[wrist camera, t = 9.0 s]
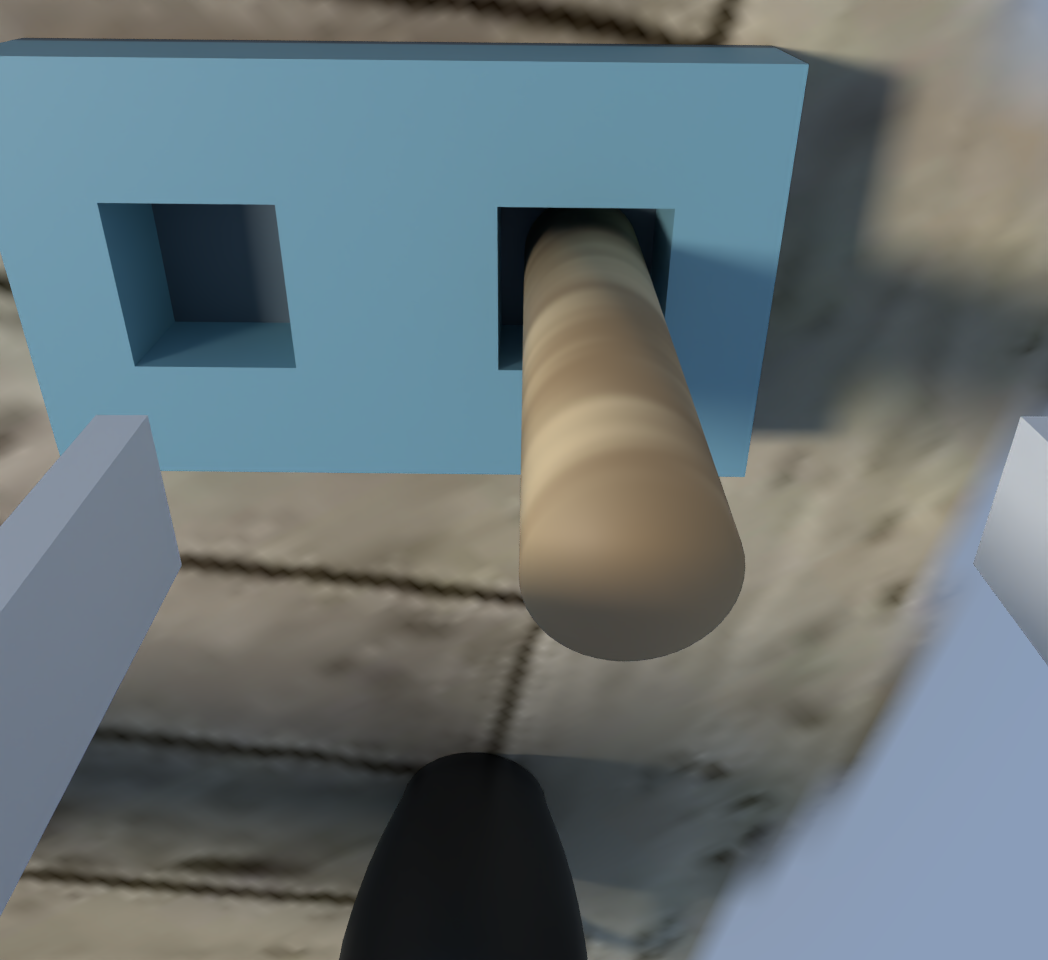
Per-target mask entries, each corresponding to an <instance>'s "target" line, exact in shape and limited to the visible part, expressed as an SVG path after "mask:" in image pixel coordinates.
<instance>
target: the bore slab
mask: <svg viewBox="0 0 1048 960" xmlns="http://www.w3.org/2000/svg"><path fill="white" fill-rule="evenodd" d="M808 68H809V64H807V63H805V62H803V61H801V60H799V59H797V58H795V57H793V56H791V55H789V54H787V53H785V52H783V51H781V50H779V49H777V48H775V47H773V46H764V45H666V44H567V43H469V42H370V41H272V40H174V39H75V38H21V39H16V40H11V41H7V42H2V43H0V252H1V255H2V259H3V262H4V266H5V269H6V272H7V276H8V279H9V283H10V286H11V290H12V293H13V296H14V300H15V303H16V307H17V310H18V313H19V317H20V320H21V324H22V327H23V331H24V334H25V337H26V341H27V344H28V348H29V351H30V355H31V358H32V361H33V365H34V368H35V372H36V375H37V378H38V382H39V385H40V389H41V392H42V396H43V399H44V402H45V406H46V409H47V413H48V416H49V419H50V423H51V426H52V430H53V433H54V437H55V440H56V443H57V447H58V450H59V454H60V456H61V455H62V454H63V453H64V452H65V451H66V449H67V448H68V447H69V446H70V445H71V444H72V442H73V441H74V440H75V439H76V438H77V437H78V435H79V434H80V433H81V432H82V431H83V430H84V428H85V427H86V426H87V425H88V424H89V423H90V421H91V420H92V419H93V418H94V417H95V416H96V415H148V418H149V423H150V427H151V432H152V436H153V441H154V445H155V449H156V454H157V458H158V463H159V467H160V471H229V472H327V473H425V474H521V425H522V365H523V306H524V251H525V243H526V239H527V236H528V233H529V231H530V229H531V227H532V225H533V223H534V222H535V221H536V219H537V218H538V217H539V216H540V215H541V213H542V212H544V211H545V210H546V209H547V208H548V207H552V208H618V209H619V210H620V211H621V212H622V213H623V214H624V215H625V216H626V217H627V218H628V220H629V221H630V223H631V225H632V227H633V229H634V231H635V234H636V237H637V240H638V243H639V246H640V248H641V251H642V254H643V257H644V260H645V263H646V266H647V269H648V272H649V275H650V278H651V280H652V283H653V286H654V289H655V292H656V295H657V298H658V301H659V304H660V307H661V310H662V313H663V315H664V318H665V321H666V324H667V327H668V330H669V333H670V336H671V339H672V342H673V345H674V348H675V350H676V353H677V356H678V359H679V362H680V365H681V368H682V371H683V374H684V377H685V380H686V383H687V385H688V388H689V391H690V394H691V397H692V400H693V403H694V406H695V409H696V412H697V415H698V418H699V420H700V423H701V426H702V429H703V432H704V435H705V438H706V441H707V444H708V447H709V450H710V453H711V455H712V458H713V461H714V464H715V467H716V470H717V473H718V476H719V477H745V471H746V465H747V459H748V452H749V446H750V439H751V433H752V427H753V420H754V414H755V407H756V401H757V395H758V388H759V382H760V375H761V369H762V362H763V356H764V350H765V343H766V337H767V330H768V324H769V318H770V311H771V305H772V298H773V292H774V286H775V279H776V273H777V266H778V260H779V253H780V247H781V241H782V234H783V228H784V221H785V215H786V209H787V202H788V196H789V189H790V183H791V177H792V170H793V164H794V157H795V151H796V145H797V138H798V132H799V125H800V119H801V112H802V106H803V100H804V93H805V87H806V80H807V74H808Z"/></svg>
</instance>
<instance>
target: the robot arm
mask: <svg viewBox="0 0 1048 960" xmlns="http://www.w3.org/2000/svg"><path fill="white" fill-rule="evenodd" d="M973 564H974V566H975V567H976V568H977V570H978V571H979V572H980V574H981V575H982V577H983V578H984V579H985V581H986V582H987V583H988V585H989V586H990V587H991V589H992V590H993V592H994V593H995V594H996V596H997V597H998V598H999V600H1000V601H1001V602H1002V604H1003V605H1004V607H1005V608H1006V609H1007V611H1008V612H1009V613H1010V615H1011V616H1012V617H1013V619H1014V620H1015V621H1016V623H1017V624H1018V625H1019V627H1020V628H1021V630H1022V631H1023V632H1024V634H1025V635H1026V636H1027V638H1028V639H1029V641H1030V642H1031V643H1032V645H1033V646H1034V647H1035V649H1036V650H1037V651H1038V653H1039V654H1040V656H1041V657H1042V658H1043V660H1044V661H1045V662H1046V664H1047V665H1048V416H1021V417H1020V421H1019V424H1018V427H1017V430H1016V433H1015V436H1014V439H1013V442H1012V445H1011V448H1010V452H1009V455H1008V458H1007V461H1006V464H1005V467H1004V470H1003V473H1002V476H1001V479H1000V483H999V486H998V489H997V492H996V495H995V498H994V501H993V504H992V507H991V510H990V514H989V517H988V520H987V523H986V526H985V529H984V532H983V535H982V538H981V541H980V545H979V548H978V551H977V554H976V557H975V560H974V563H973ZM181 566H182V564H181V559H180V555H179V551H178V546H177V542H176V537H175V533H174V529H173V524H172V520H171V515H170V511H169V507H168V502H167V498H166V493H165V489H164V485H163V480H162V476H161V471H160V467H159V463H158V458H157V454H156V449H155V445H154V441H153V436H152V432H151V427H150V423H149V418H148V415H96V416H95V417H94V418H93V419H92V420H91V421H90V423H89V424H88V425H87V426H86V427H85V428H84V430H83V431H82V432H81V433H80V434H79V435H78V437H77V438H76V439H75V440H74V441H73V442H72V444H71V445H70V446H69V447H68V448H67V449H66V451H65V452H64V453H63V454H62V455H61V456H60V458H59V459H58V460H57V461H56V462H55V464H54V465H53V466H52V467H51V468H50V469H49V471H48V472H47V473H46V474H45V475H44V476H43V478H42V479H41V480H40V481H39V482H38V483H37V485H36V486H35V487H34V488H33V489H32V490H31V492H30V493H29V494H28V495H27V496H26V497H25V499H24V500H23V501H22V502H21V503H20V504H19V506H18V507H17V508H16V509H15V510H14V511H13V513H12V514H11V515H10V516H9V517H8V518H7V520H6V521H5V522H4V523H3V524H2V525H1V527H0V916H1V914H2V912H3V910H4V908H5V906H6V904H7V902H8V900H9V898H10V896H11V894H12V893H13V891H14V889H15V887H16V885H17V883H18V881H19V879H20V877H21V875H22V873H23V871H24V869H25V867H26V865H27V864H28V862H29V860H30V858H31V856H32V854H33V852H34V850H35V848H36V846H37V844H38V842H39V840H40V838H41V836H42V835H43V833H44V831H45V829H46V827H47V825H48V823H49V821H50V819H51V817H52V815H53V813H54V811H55V809H56V807H57V805H58V804H59V802H60V800H61V798H62V796H63V794H64V792H65V790H66V788H67V786H68V784H69V782H70V780H71V778H72V776H73V775H74V773H75V771H76V769H77V767H78V765H79V763H80V761H81V759H82V757H83V755H84V753H85V751H86V749H87V747H88V746H89V744H90V742H91V740H92V738H93V736H94V734H95V732H96V730H97V728H98V726H99V724H100V722H101V720H102V718H103V716H104V715H105V713H106V711H107V709H108V707H109V705H110V703H111V701H112V699H113V697H114V695H115V693H116V691H117V689H118V687H119V686H120V684H121V682H122V680H123V678H124V676H125V674H126V672H127V670H128V668H129V666H130V664H131V662H132V660H133V658H134V656H135V655H136V653H137V651H138V649H139V647H140V645H141V643H142V641H143V639H144V637H145V635H146V633H147V631H148V629H149V627H150V626H151V624H152V622H153V620H154V618H155V616H156V614H157V612H158V610H159V608H160V606H161V604H162V602H163V600H164V598H165V597H166V595H167V593H168V591H169V589H170V587H171V585H172V583H173V581H174V579H175V577H176V575H177V573H178V571H179V569H180V567H181Z"/></svg>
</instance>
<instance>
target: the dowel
mask: <svg viewBox="0 0 1048 960" xmlns="http://www.w3.org/2000/svg"><path fill="white" fill-rule="evenodd" d="M744 574H745V556H744V551H743V547H742V543H741V540H740V537H739V534H738V531H737V528H736V525H735V522H734V520H733V517H732V514H731V511H730V508H729V505H728V502H727V499H726V496H725V493H724V490H723V487H722V485H721V482H720V479H719V476H718V473H717V470H716V467H715V464H714V461H713V458H712V455H711V453H710V450H709V447H708V444H707V441H706V438H705V435H704V432H703V429H702V426H701V423H700V420H699V418H698V415H697V412H696V409H695V406H694V403H693V400H692V397H691V394H690V391H689V388H688V385H687V383H686V380H685V377H684V374H683V371H682V368H681V365H680V362H679V359H678V356H677V353H676V350H675V348H674V345H673V342H672V339H671V336H670V333H669V330H668V327H667V324H666V321H665V318H664V315H663V313H662V310H661V307H660V304H659V301H658V298H657V295H656V292H655V289H654V286H653V283H652V280H651V278H650V275H649V272H648V269H647V266H646V263H645V260H644V257H643V254H642V251H641V248H640V246H639V243H638V240H637V237H636V234H635V231H634V229H633V227H632V225H631V223H630V221H629V220H628V218H627V217H626V216H625V215H624V214H623V213H622V212H621V211H620V210H619V209H618V208H552V207H548V208H547V209H546V210H545V211H544V212H542V213H541V215H540V216H539V217H538V218H537V219H536V221H535V222H534V223H533V225H532V227H531V229H530V231H529V233H528V236H527V239H526V243H525V251H524V306H523V365H522V425H521V485H520V544H519V583H520V590H521V594H522V598H523V600H524V603H525V605H526V608H527V610H528V611H529V613H530V615H531V616H532V618H533V619H534V621H535V622H536V623H537V624H538V626H539V627H540V628H541V629H542V630H543V631H544V632H545V633H547V634H548V635H549V636H550V637H551V638H553V639H554V640H555V641H557V642H558V643H560V644H562V645H563V646H565V647H567V648H569V649H571V650H573V651H576V652H578V653H581V654H583V655H587V656H591V657H594V658H599V659H605V660H612V661H639V660H647V659H653V658H657V657H662V656H665V655H668V654H671V653H674V652H677V651H680V650H682V649H684V648H686V647H688V646H690V645H692V644H694V643H695V642H697V641H699V640H701V639H702V638H703V637H705V636H706V635H707V634H709V633H710V632H711V631H713V630H714V629H715V628H716V627H717V626H718V625H719V624H720V623H721V622H722V621H723V620H724V618H725V617H726V616H727V615H728V613H729V612H730V611H731V609H732V607H733V606H734V604H735V603H736V601H737V598H738V596H739V594H740V591H741V588H742V584H743V581H744Z"/></svg>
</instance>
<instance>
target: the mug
mask: <svg viewBox="0 0 1048 960" xmlns="http://www.w3.org/2000/svg"><path fill="white" fill-rule="evenodd" d="M339 960H587V950H586V944H585V939H584V933H583V927H582V921H581V916H580V910H579V905H578V901H577V896H576V892H575V888H574V884H573V880H572V876H571V872H570V869H569V866H568V862H567V859H566V856H565V852H564V850H563V847H562V844H561V841H560V838H559V836H558V833H557V830H556V828H555V825H554V823H553V820H552V817H551V815H550V812H549V809H548V807H547V804H546V801H545V797H544V792H543V790H542V788H541V787H540V785H539V783H538V781H537V780H536V779H535V778H534V777H533V776H532V775H531V774H530V773H529V772H528V771H527V770H526V769H524V768H523V767H521V766H520V765H518V764H517V763H515V762H512V761H510V760H507V759H505V758H502V757H498V756H494V755H489V754H481V753H464V754H454V755H450V756H447V757H443V758H440V759H437V760H435V761H433V762H431V763H429V764H427V765H426V766H424V767H423V768H422V769H420V770H419V771H418V772H417V773H416V774H415V775H414V776H413V777H412V779H411V780H410V781H409V783H408V784H407V787H406V790H405V792H404V795H403V797H402V799H401V801H400V802H399V804H398V806H397V808H396V810H395V812H394V814H393V816H392V817H391V819H390V821H389V823H388V825H387V827H386V829H385V831H384V833H383V835H382V837H381V839H380V841H379V843H378V845H377V847H376V850H375V852H374V854H373V856H372V859H371V861H370V863H369V865H368V868H367V871H366V873H365V876H364V879H363V881H362V884H361V887H360V889H359V892H358V895H357V898H356V900H355V903H354V906H353V909H352V912H351V916H350V919H349V922H348V925H347V929H346V932H345V935H344V939H343V943H342V948H341V953H340V958H339Z"/></svg>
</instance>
